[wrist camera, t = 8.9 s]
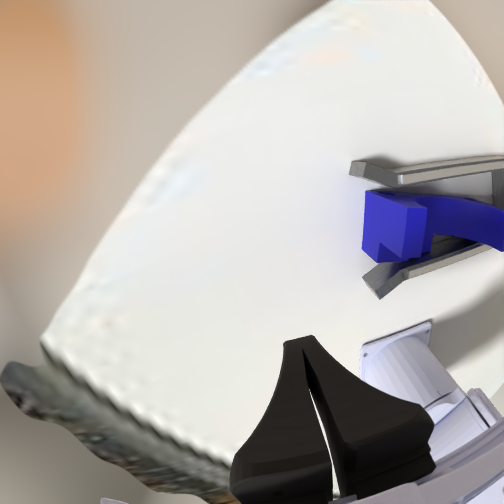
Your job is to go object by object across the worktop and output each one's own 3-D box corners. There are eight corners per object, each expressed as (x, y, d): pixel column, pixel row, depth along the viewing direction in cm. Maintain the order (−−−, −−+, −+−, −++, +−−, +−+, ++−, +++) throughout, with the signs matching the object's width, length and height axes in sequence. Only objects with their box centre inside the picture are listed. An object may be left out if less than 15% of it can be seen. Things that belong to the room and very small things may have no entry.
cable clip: (360, 248, 21) (397, 281, 15) (365, 190, 19) (407, 207, 14) (465, 244, 21) (506, 268, 15) (471, 198, 20) (516, 214, 14)
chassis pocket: (497, 240, 21) (514, 249, 18) (362, 287, 22) (376, 303, 19) (494, 145, 18) (513, 147, 15) (346, 162, 18) (362, 163, 16)
